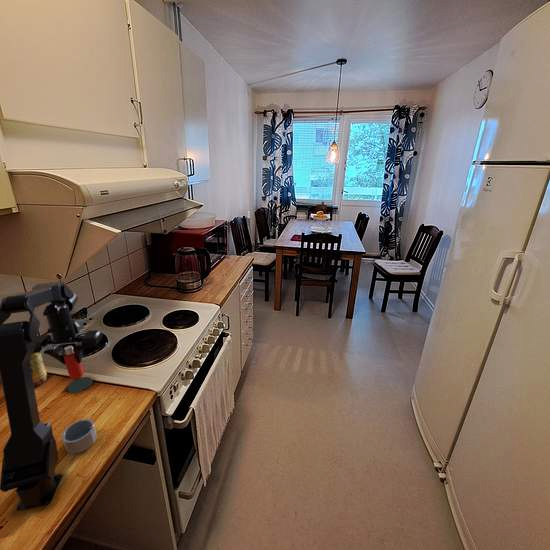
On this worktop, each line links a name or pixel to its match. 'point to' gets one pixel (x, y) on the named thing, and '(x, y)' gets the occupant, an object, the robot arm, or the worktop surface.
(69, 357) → the ketchup
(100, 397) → the worktop surface
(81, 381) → the coaster
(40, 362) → the sauce bottle
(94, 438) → the short metal can
